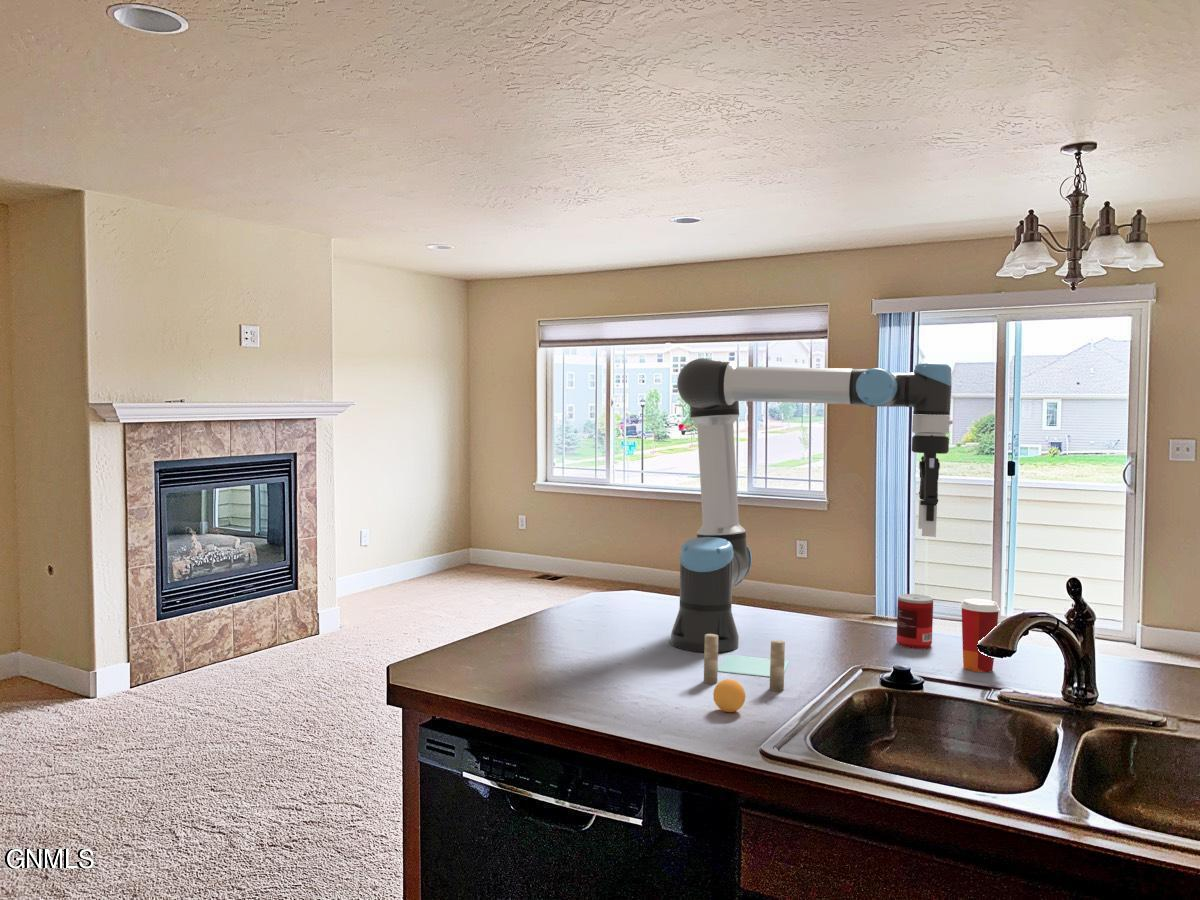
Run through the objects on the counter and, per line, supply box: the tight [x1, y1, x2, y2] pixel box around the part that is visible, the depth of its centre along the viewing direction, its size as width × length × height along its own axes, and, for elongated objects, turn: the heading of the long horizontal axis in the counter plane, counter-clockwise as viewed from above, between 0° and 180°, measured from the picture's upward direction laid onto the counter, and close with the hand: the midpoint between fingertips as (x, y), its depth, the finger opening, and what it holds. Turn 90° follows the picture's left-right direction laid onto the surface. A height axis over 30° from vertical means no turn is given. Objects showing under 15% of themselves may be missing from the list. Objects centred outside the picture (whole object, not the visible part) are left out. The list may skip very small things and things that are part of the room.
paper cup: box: [958, 598, 1001, 673], centre depth 183 cm, size 8×8×14 cm
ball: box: [712, 678, 746, 713], centre depth 153 cm, size 6×6×6 cm
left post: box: [703, 634, 719, 685], centre depth 170 cm, size 3×3×9 cm
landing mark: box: [717, 654, 790, 678], centre depth 182 cm, size 13×13×1 cm
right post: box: [769, 639, 786, 692], centre depth 167 cm, size 3×3×9 cm
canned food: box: [896, 593, 934, 650], centre depth 202 cm, size 8×8×11 cm
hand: (926, 532), depth 193 cm, fingers open, 13 cm apart
